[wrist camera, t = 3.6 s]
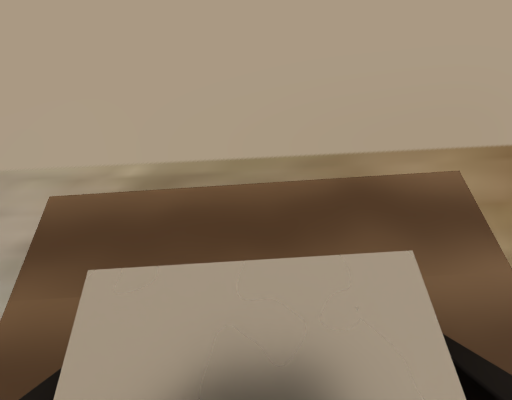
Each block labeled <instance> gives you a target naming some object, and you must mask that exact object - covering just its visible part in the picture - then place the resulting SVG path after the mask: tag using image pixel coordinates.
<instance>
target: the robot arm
mask: <svg viewBox="0 0 512 400" xmlns="http://www.w3.org/2000/svg"><path fill="white" fill-rule="evenodd" d="M442 334H443V333H442ZM443 336H444V339H445V342H446V345H447V347H448V350H449V353H450V356H451V359H452V361H453V364H454V367H455V370H456V372H457V375H458V378H459V381H460V384H461V386H462V389H463V392H464V395H465V397H466V400H512V375H511V374H509V373H508V372H506V371H504V370H503V369H501V368H499V367H498V366H496V365H494V364H493V363H491V362H489V361H488V360H486V359H484V358H483V357H481V356H479V355H478V354H476V353H474V352H473V351H471V350H469V349H468V348H466V347H464V346H463V345H461V344H459V343H458V342H456V341H454V340H453V339H451V338H449V337H448V336H446V335H444V334H443ZM61 369H62V368H60V369H59V370H58V371H56V372H55V373H54V374H52V375H51V376H50V377H48V378H47V379H46V380H44V381H43V382H42V383H40V384H39V385H38V386H36V387H35V388H33V389H32V390H31V391H29V392H28V393H27V394H25V395H24V396H23V397H21V398H20V399H19V400H53V399H54V396H55V392H56V388H57V384H58V381H59V377H60V373H61Z"/></svg>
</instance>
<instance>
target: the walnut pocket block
mask: <svg viewBox="0 0 512 400" xmlns="http://www.w3.org/2000/svg"><path fill="white" fill-rule="evenodd" d="M411 250H413V253H414V256H415V259H416V261H417V264H418V267H419V270H420V273H421V275H422V278H423V281H424V284H425V286H426V289H427V292H428V295H429V298H430V300H431V303H432V306H433V309H434V311H435V314H436V317H437V320H438V322H439V325H440V328H441V331H442V333H443V334H444V335H446V336H448V337H449V338H451V339H453V340H454V341H456V342H458V343H459V344H461V345H463V346H464V347H466V348H468V349H469V350H471V351H473V352H474V353H476V354H478V355H479V356H481V357H483V358H484V359H486V360H488V361H489V362H491V363H493V364H494V365H496V366H498V367H499V368H501V369H503V370H504V371H506V372H508V373H509V374H511V375H512V268H511V266H510V265H509V263H508V261H507V259H506V257H505V255H504V253H503V251H502V250H501V248H500V246H499V244H498V242H497V240H496V238H495V237H494V235H493V233H492V231H491V229H490V227H489V225H488V224H487V222H486V220H485V218H484V216H483V214H482V212H481V210H480V209H479V207H478V205H477V203H476V201H475V199H474V197H473V196H472V194H471V192H470V190H469V188H468V186H467V184H466V183H465V181H464V179H463V177H462V175H461V173H460V171H447V172H431V173H415V174H399V175H384V176H368V177H352V178H336V179H320V180H304V181H289V182H273V183H257V184H241V185H225V186H210V187H194V188H178V189H162V190H146V191H131V192H115V193H99V194H83V195H67V196H52V197H49V199H48V202H47V204H46V207H45V210H44V212H43V215H42V217H41V220H40V222H39V225H38V227H37V230H36V232H35V235H34V237H33V240H32V242H31V245H30V247H29V250H28V253H27V255H26V258H25V260H24V263H23V265H22V268H21V270H20V273H19V275H18V278H17V280H16V283H15V285H14V288H13V290H12V293H11V296H10V298H9V301H8V303H7V306H6V308H5V311H4V313H3V316H2V318H1V321H0V400H19V399H20V398H21V397H23V396H24V395H25V394H27V393H28V392H29V391H31V390H32V389H33V388H35V387H36V386H38V385H39V384H40V383H42V382H43V381H44V380H46V379H47V378H48V377H50V376H51V375H52V374H54V373H55V372H56V371H58V370H59V369H60V368H62V366H63V362H64V358H65V354H66V351H67V347H68V343H69V339H70V336H71V332H72V328H73V324H74V321H75V317H76V313H77V309H78V306H79V302H80V298H81V295H82V291H83V287H84V283H85V280H86V276H87V272H88V270H99V269H115V268H132V267H148V266H165V265H181V264H198V263H214V262H230V261H247V260H263V259H280V258H296V257H313V256H329V255H345V254H362V253H378V252H395V251H411Z"/></svg>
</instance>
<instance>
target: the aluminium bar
mask: <svg viewBox="0 0 512 400" xmlns="http://www.w3.org/2000/svg"><path fill="white" fill-rule="evenodd" d="M53 400H466V397H465V395H464V392H463V389H462V386H461V384H460V381H459V378H458V375H457V372H456V370H455V367H454V364H453V361H452V359H451V356H450V353H449V350H448V347H447V345H446V342H445V339H444V336H443V334H442V331H441V328H440V325H439V322H438V320H437V317H436V314H435V311H434V309H433V306H432V303H431V300H430V298H429V295H428V292H427V289H426V286H425V284H424V281H423V278H422V275H421V273H420V270H419V267H418V264H417V261H416V259H415V256H414V253H413V250H411V251H395V252H378V253H362V254H345V255H329V256H313V257H296V258H280V259H263V260H247V261H230V262H214V263H198V264H181V265H165V266H148V267H132V268H115V269H99V270H88V272H87V276H86V280H85V283H84V287H83V291H82V295H81V298H80V302H79V306H78V309H77V313H76V317H75V321H74V324H73V328H72V332H71V336H70V339H69V343H68V347H67V351H66V354H65V358H64V362H63V366H62V369H61V373H60V377H59V381H58V384H57V388H56V392H55V396H54V399H53Z"/></svg>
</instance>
